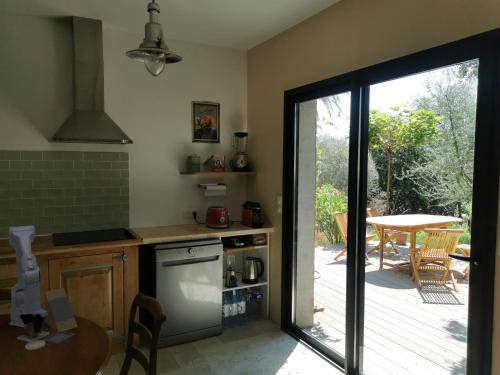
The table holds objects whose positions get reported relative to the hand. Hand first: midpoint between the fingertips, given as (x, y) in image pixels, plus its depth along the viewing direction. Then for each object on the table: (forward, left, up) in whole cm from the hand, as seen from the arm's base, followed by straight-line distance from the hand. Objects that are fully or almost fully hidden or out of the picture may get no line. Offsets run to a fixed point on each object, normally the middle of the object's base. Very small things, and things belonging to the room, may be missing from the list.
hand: (33, 331), depth 160 cm
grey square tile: (+11, +3, -3) cm, 12 cm away
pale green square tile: (0, 0, -3) cm, 3 cm away
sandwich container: (+1, +13, -3) cm, 14 cm away
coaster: (+8, -6, -3) cm, 10 cm away
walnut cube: (0, 0, -1) cm, 1 cm away
